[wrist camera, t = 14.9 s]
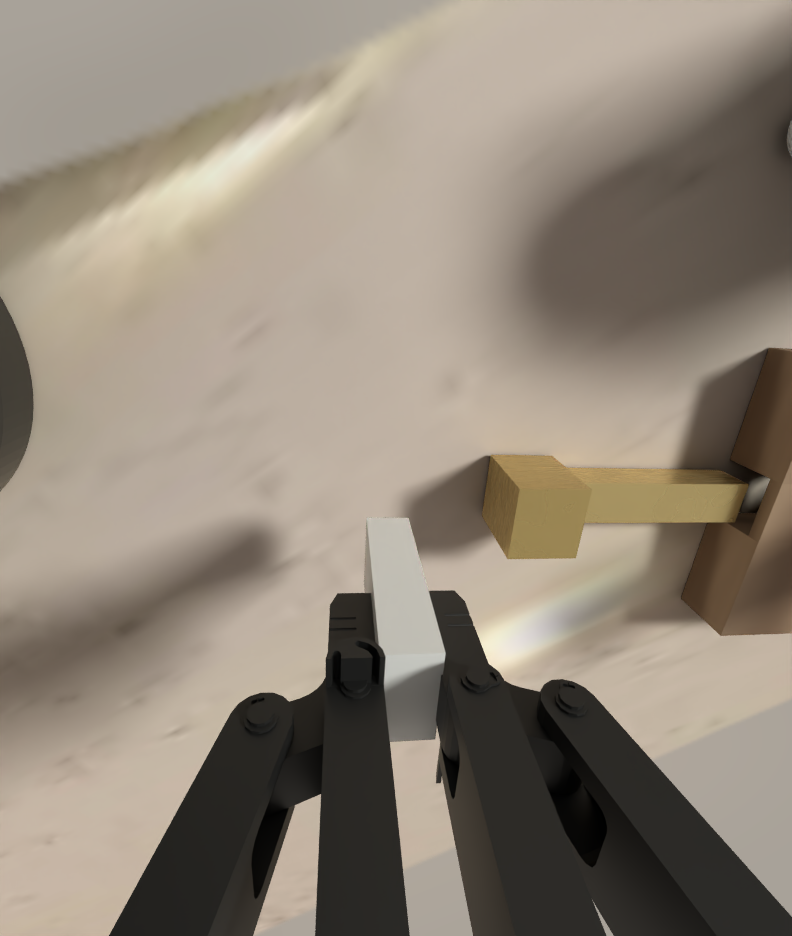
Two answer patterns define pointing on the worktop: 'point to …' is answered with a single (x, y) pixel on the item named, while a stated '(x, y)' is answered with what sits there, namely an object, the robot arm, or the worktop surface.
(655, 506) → the lock pin
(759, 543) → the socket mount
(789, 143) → the light bulb
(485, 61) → the worktop surface
